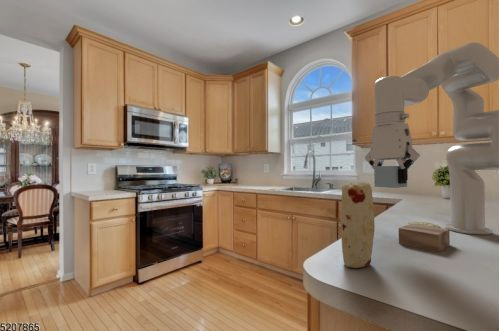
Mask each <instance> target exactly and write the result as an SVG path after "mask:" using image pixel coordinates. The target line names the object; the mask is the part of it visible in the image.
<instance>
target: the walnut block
mask: <svg viewBox="0 0 499 331" xmlns="http://www.w3.org/2000/svg"><path fill="white" fill-rule="evenodd" d="M450 240H451V238H450V230H449V229H447V228H444V227H443V228H442V227H441V228H437V227H431V226H424V225H418V224H409V225H406V224H405V225H403V226H400V227H399V228H398V244H399V245H404V246H409V247H413V248H418V249H422V250H427V251H430V252H435V253H439V252H441V251H443V250H444V249H446V248H448V247H449V246H450V245H451V244H450V243H451V242H450Z"/></svg>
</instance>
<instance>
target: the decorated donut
mask: <svg viewBox="0 0 499 331" xmlns="http://www.w3.org/2000/svg"><path fill="white" fill-rule="evenodd" d="M409 224H418V225H424V226H431V227H437V228H442V227H441V226H440V225H438V224H435V223H432V222H419V221H411V222H408V223H405V226H406V225H409Z"/></svg>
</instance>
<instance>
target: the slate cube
mask: <svg viewBox="0 0 499 331" xmlns="http://www.w3.org/2000/svg"><path fill="white" fill-rule="evenodd" d="M398 169H400V167H399V165H382V166H374V169H373V171H374V178H373V179H374V183H373V184H374V188H375V187H376V188H389V189H398V188H407V187H408V182H407V183H403V184H399V183H398Z"/></svg>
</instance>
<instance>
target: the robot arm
mask: <svg viewBox="0 0 499 331" xmlns="http://www.w3.org/2000/svg"><path fill="white" fill-rule="evenodd" d="M497 81H499V56H498V55H497V54H495V53H494V52H493V51H491V50H490V48H488V47H487V46H486V45H483V44H482V43H479V42H469V43H466V44H464V45H461V46H458V47H456V48H452V49H449V50H447V51H444V52H441V53H440V54H438V55H435V57H433V58H431V59H430V60H429V61H428V62H426V63H424V64H423V65H421V66H419V67H417V68H414V69H412V70H411V71H409V72H407V73H406V74H403V75H401V76H399V75H389V76H384V77H380V78H379V79H377V80H376V81H375V82H374V86H373V92H374V93H373V94H374V96H373V98H374V99H373V100H374V101H373V102H374V126H373V127H372V130H371V137H370V150H369V152H367V154H366V155H365V156H364V159H365V160H366V161H367V162H368V164H369V165H370V166H371V167H372V169H373V170H374V166H384V161H386V160H387V161H388V160H396V161H397V164H398V165H397V166H399V167H400V169H398V183H399V184H403V183H407V184H408V178H409V175H408V174H409V172H408V170H409V169H410V167H411V166H413V164H414V163H415V162H416V161H417V160H418V159H419V158H420V157H421V155H420V153H419V152H417V150H415V149H414V148H413V142H412V135H411V131H410V127H409V124H408V123H407V122H406V119H409V118H410V113H406V112H405V107H409V106H413V105H417V104H419V103H422V102H424V101H425V100H426V99H427V98H428V96H429V94H430V91H432V90H434V89H437V88H438V87H439V86H441V88H442V89H443V90H444V92H445V93H446V95H447V96H448V97H449V99H450V101H451V102H452V106H453V107H452V108H453V110H452V111H453V114H452V135H453V138H455V140H457V141H464V142H465V141H466V142H468V141H469V142H470V141H480V140H481V141H482V140H491V141H488V142H475V143H464V144H463V143H461V144H456V145H453V146H451V147H449V149H448V150H447V151H446V153H445V160H446V164H447V167H448V173H449V174H448V175H449V202H450V204H449V205H450V223H447V224H445V225H444V226H445V229H449V231H451V232H455V233H461V234H467V235H477V236H478V235H483V236H485V235H491V234H492V233H493V232H492V229H491V228H489V227H486V201H485V200H486V195H485V194H486V192H485V186H486V185H485V182H484V179H483V178H482V177H481V175H480V174H478V172H477V171H499V110H498V109H497V110H489V111H485V100H484V98H483V96H481V95H480V93H478V92H476V91H474V90H473V89H472V88H474V87H475V88H476V87H481V86H483V85H487V84H488V85H489V84H491V83H494V82H497Z"/></svg>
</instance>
